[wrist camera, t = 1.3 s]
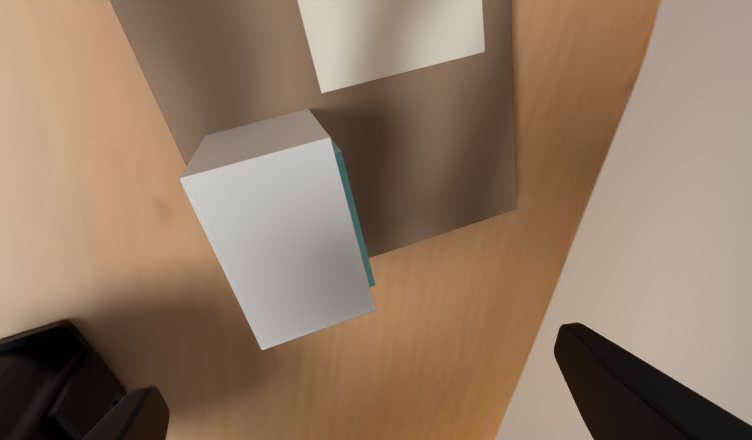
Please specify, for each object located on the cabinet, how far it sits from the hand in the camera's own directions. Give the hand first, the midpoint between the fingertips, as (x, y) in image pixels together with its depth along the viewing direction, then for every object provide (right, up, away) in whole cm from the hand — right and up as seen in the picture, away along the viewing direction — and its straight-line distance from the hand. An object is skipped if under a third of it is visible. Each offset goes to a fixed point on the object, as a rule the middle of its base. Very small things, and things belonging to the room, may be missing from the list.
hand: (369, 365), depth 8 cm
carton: (-4, +5, +10) cm, 11 cm away
